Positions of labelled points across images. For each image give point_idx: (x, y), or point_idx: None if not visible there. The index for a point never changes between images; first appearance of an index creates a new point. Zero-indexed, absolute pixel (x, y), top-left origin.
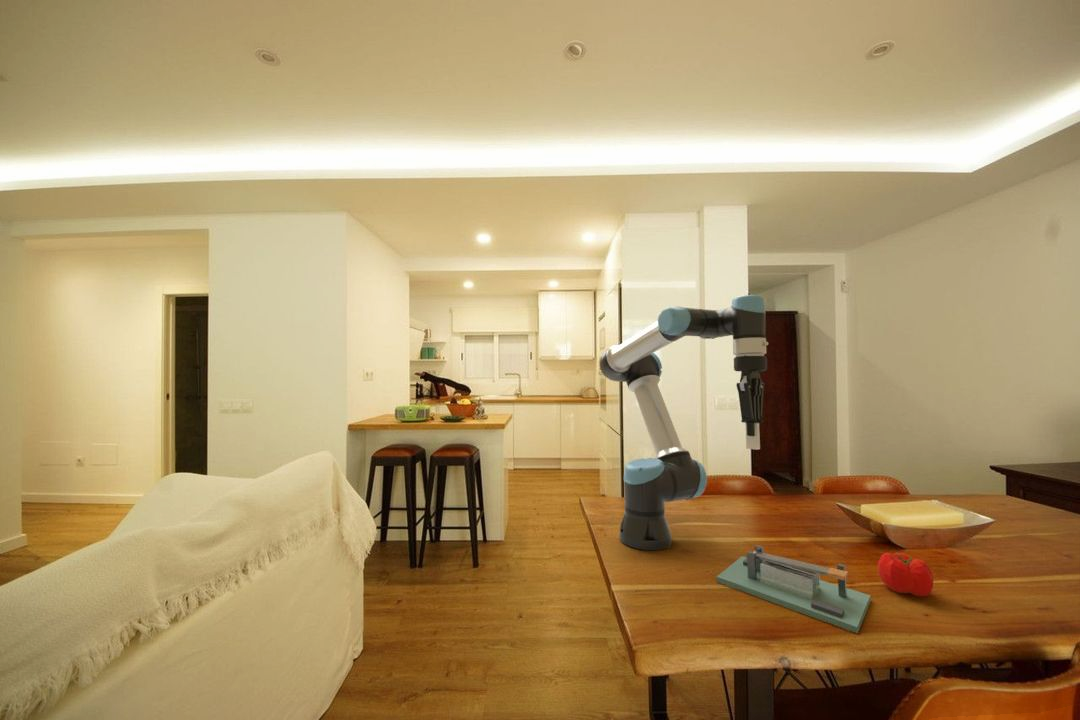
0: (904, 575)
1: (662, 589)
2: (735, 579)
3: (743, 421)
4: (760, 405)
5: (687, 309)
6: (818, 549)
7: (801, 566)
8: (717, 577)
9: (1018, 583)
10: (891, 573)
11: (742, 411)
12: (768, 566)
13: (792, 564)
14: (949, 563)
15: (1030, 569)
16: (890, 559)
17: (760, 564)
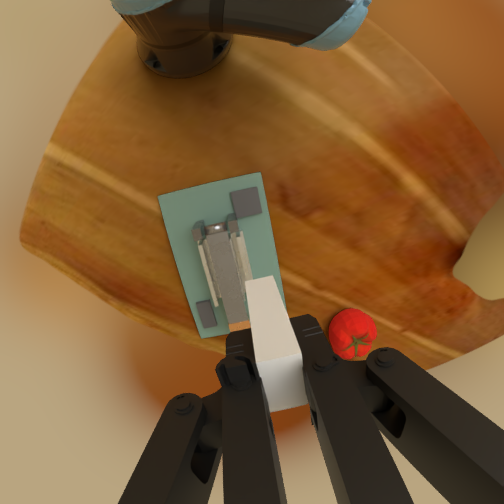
0: (332, 344)
1: (84, 175)
2: (174, 215)
3: (223, 373)
4: (416, 465)
5: None
6: (396, 218)
7: (222, 296)
8: (158, 197)
9: (429, 351)
10: (333, 333)
11: (150, 458)
12: (201, 256)
13: (219, 285)
14: (443, 312)
15: (461, 341)
16: (350, 335)
17: (198, 246)
